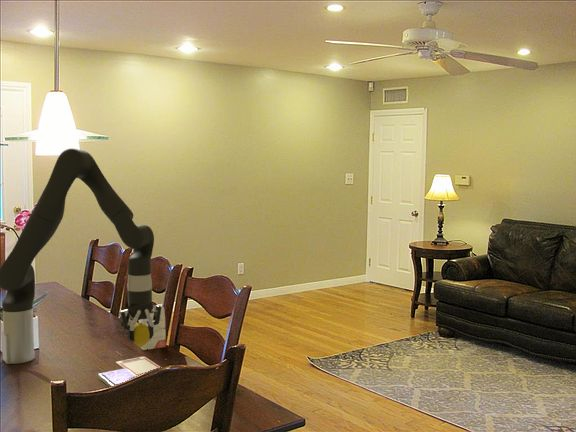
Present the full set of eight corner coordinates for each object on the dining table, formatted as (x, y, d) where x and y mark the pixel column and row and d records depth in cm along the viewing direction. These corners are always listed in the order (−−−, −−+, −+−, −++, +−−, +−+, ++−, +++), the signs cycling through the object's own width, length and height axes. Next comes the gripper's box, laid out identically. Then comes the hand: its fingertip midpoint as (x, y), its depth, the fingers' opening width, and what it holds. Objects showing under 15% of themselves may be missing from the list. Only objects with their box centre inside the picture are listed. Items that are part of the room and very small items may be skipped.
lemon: (141, 350, 199) (140, 326, 198) (128, 348, 202) (127, 323, 201) (153, 346, 203) (153, 322, 203) (140, 343, 206) (140, 319, 206)
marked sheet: (137, 378, 193) (137, 377, 193) (115, 362, 207) (115, 361, 207) (167, 372, 199) (167, 371, 199) (144, 357, 213) (144, 356, 213)
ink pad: (114, 390, 183) (113, 385, 183) (98, 377, 193) (98, 372, 193) (143, 384, 188) (143, 379, 188) (126, 372, 199) (126, 367, 199)
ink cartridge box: (162, 343, 229) (161, 303, 227) (166, 347, 224) (165, 306, 223) (138, 346, 225) (138, 306, 223) (142, 350, 221) (141, 309, 219)
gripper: (122, 293, 193) (123, 346, 195) (165, 287, 202) (166, 338, 204) (113, 288, 199) (114, 340, 201) (155, 283, 208) (156, 333, 210)
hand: (140, 339), depth 202 cm, fingers closed on lemon, 5 cm apart
